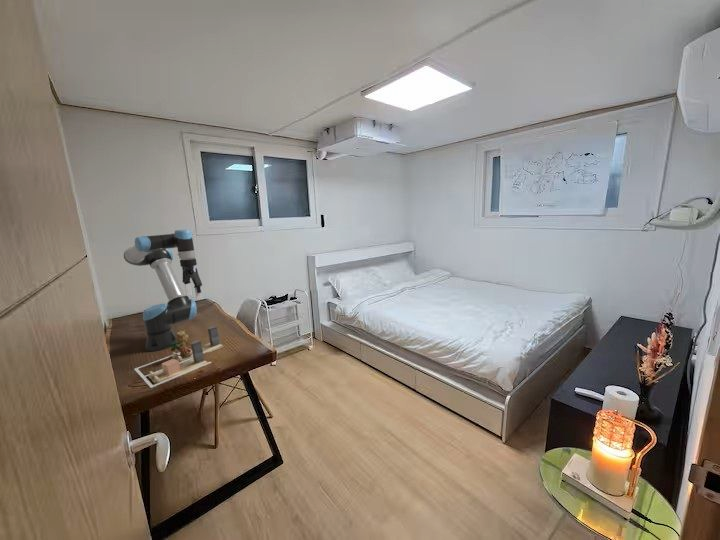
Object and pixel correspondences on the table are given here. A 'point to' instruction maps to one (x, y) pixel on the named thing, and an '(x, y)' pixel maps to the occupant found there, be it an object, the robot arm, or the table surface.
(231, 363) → the table surface
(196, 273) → the robot arm
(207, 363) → the lane board
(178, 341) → the figurine
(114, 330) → the table surface
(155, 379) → the strip
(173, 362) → the terracotta cube
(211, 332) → the strip
